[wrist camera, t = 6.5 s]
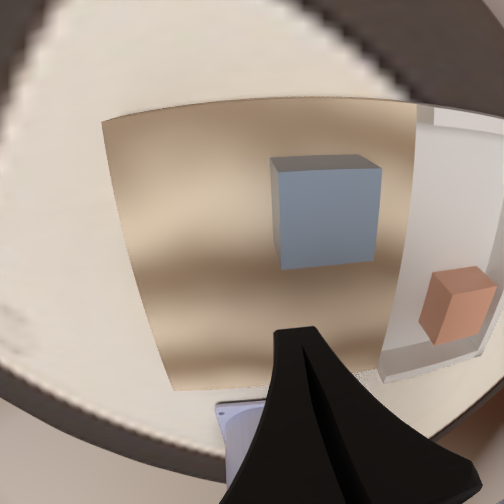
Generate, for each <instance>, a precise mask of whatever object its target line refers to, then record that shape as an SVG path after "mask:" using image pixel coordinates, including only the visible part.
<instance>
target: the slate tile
mask: <svg viewBox="0 0 504 504" xmlns="http://www.w3.org/2000/svg"><path fill="white" fill-rule="evenodd" d="M270 177H271V198H272V220H273V242H274V246H275V249H276V253H277V257H278V260H279V264H280V268H281V270H288V269H298V268H308V267H318V266H328V265H337V264H347V263H356V262H365V261H374V253H375V245H376V237H377V227H378V218H379V207H380V195H381V181H382V168H381V167H379V166H377V165H376V164H374V163H372V162H371V161H369V160H367V159H366V158H364V157H362V156H361V155H359V154H344V155H310V156H288V157H272V158H270Z"/></svg>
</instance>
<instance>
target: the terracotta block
mask: <svg viewBox="0 0 504 504" xmlns="http://www.w3.org/2000/svg"><path fill="white" fill-rule="evenodd" d="M496 288H497V285H496V284H495V283H494V282H493V281H492V280H491V279H490V278H489V277H488V276H487V275H486V274H485V273H484V272H482V271H481V270H480V269H479V268H478V267H477V266H472V267H465V268H459V269H452V270H445V271H438V272H432V275H431V279H430V283H429V287H428V291H427V294H426V298H425V301H424V305H423V308H422V311H421V315H420V318H419V321H418V322H419V323H420V325H421V326H422V328H423V329H424V331H425V332H426V334H427V336H428V337H429V339H430V340H431V342H432V343H433V345H434V346H436V345H440V344H444V343H447V342H451V341H455V340H458V339H462V338H465V337H469V336H472V335H476V334H478V332H479V330H480V328H481V326H482V323H483V321H484V319H485V316H486V314H487V311H488V309H489V306H490V304H491V301H492V299H493V296H494V293H495V291H496Z"/></svg>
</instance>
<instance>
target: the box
mask: <svg viewBox="0 0 504 504" xmlns="http://www.w3.org/2000/svg"><path fill="white" fill-rule="evenodd" d="M396 101H399V100H396ZM403 102H409V101H403ZM409 103H414V104H417V113H416V141H415V157H414V170H413V182H412V192H411V201H410V209H409V217H408V224H407V231H406V238H405V244H404V250H403V256H402V262H401V267H400V273H399V278H398V283H397V288H396V292H395V297H394V302H393V306H392V311H391V315H390V319H389V323H388V327H387V331H386V335H385V339H384V343H383V346H382V350H381V354H380V357H379V361H378V364H377V368H376V369H377V371H378V373H379V375H380V378H381V380H382V382H383V384H385V383H389V382H393V381H398V380H402V379H405V378H409V377H413V376H417V375H421V374H424V373H428V372H431V371H435V370H438V369H441V368H445V367H448V366H451V365H454V364H457V363H460V362H463V361H466V360H469V359H472V358H475V357H478V356H481V355H482V353H483V351H484V349H485V347H486V345H487V343H488V340H489V338H490V336H491V334H492V332H493V330H494V327H495V325H496V323H497V321H498V318H499V316H500V314H501V311H502V309H503V306H504V117H501V116H496V115H492V114H487V113H482V112H477V111H472V110H466V109H460V108H454V107H448V106H441V105H434V104H426V103H418V102H409ZM472 266H477V267H478V268H479V269H480V270H481V271H482V272H484V273H485V274H486V275H487V276H488V277H489V278H490V279H491V280H492V281H493V282H494V283H495V284H496V285H497V288H496V291H495V293H494V296H493V299H492V301H491V304H490V306H489V309H488V311H487V314H486V316H485V319H484V321H483V323H482V326H481V328H480V330H479V332H478V334H476V335H472V336H469V337H465V338H462V339H458V340H455V341H451V342H447V343H444V344H440V345H436V346H434V345H433V343H432V342H431V340H430V339H429V337H428V336H427V334H426V332H425V331H424V329H423V328H422V326H421V325H420V323H419V322H418V321H419V318H420V315H421V311H422V308H423V305H424V301H425V298H426V294H427V291H428V287H429V283H430V279H431V275H432V272H438V271H445V270H452V269H459V268H465V267H472Z"/></svg>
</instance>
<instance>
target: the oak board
mask: <svg viewBox="0 0 504 504" xmlns="http://www.w3.org/2000/svg"><path fill="white" fill-rule="evenodd" d="M416 113H417V104H414V103H409V102H403V101H396V100H387V99H373V98H355V97H273V98H254V99H240V100H228V101H217V102H208V103H199V104H191V105H183V106H176V107H169V108H163V109H157V110H151V111H145V112H140V113H134V114H129V115H124V116H119V117H116V118H113V119H109V120H106V121H103V122H101V123H102V130H103V136H104V142H105V148H106V154H107V160H108V165H109V171H110V176H111V181H112V186H113V191H114V195H115V200H116V205H117V209H118V213H119V218H120V222H121V226H122V230H123V234H124V238H125V242H126V246H127V250H128V254H129V258H130V261H131V265H132V269H133V272H134V276H135V279H136V283H137V286H138V289H139V293H140V296H141V299H142V303H143V306H144V309H145V312H146V315H147V318H148V321H149V324H150V327H151V330H152V333H153V336H154V339H155V342H156V345H157V348H158V351H159V353H160V356H161V359H162V362H163V364H164V367H165V370H166V372H167V375H168V378H169V380H170V383H171V385H172V388H173V391H188V390H212V389H228V388H242V387H253V386H264V385H270V381H271V376H272V370H273V332H274V331H276V330H278V329H288V328H298V327H307V326H315V327H316V328H317V329H318V331H319V332H320V334H321V335H322V337H323V338H324V339H325V341H326V342H327V344H328V345H329V346H330V348H331V349H332V350H333V351H334V353H335V354H336V355H337V357H338V358H339V359H340V360H341V361H342V363H343V364H344V365H345V366H346V367H347V369H348V370H349V371H350V372H351V373H354V372H360V371H365V370H370V369H375V368H377V364H378V361H379V357H380V354H381V350H382V346H383V343H384V339H385V335H386V331H387V327H388V323H389V319H390V315H391V311H392V306H393V302H394V297H395V292H396V288H397V283H398V278H399V273H400V267H401V262H402V256H403V250H404V244H405V238H406V231H407V224H408V217H409V209H410V201H411V192H412V182H413V170H414V157H415V141H416ZM344 154H359V155H361V156H362V157H364V158H366V159H367V160H369V161H371V162H372V163H374V164H376V165H377V166H379V167H381V168H382V181H381V195H380V207H379V218H378V227H377V237H376V245H375V253H374V261H365V262H356V263H347V264H337V265H328V266H318V267H308V268H298V269H288V270H281V268H280V264H279V260H278V257H277V253H276V249H275V246H274V242H273V220H272V198H271V177H270V158H272V157H288V156H310V155H344Z"/></svg>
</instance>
